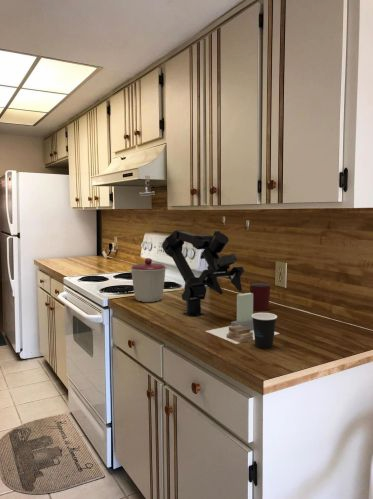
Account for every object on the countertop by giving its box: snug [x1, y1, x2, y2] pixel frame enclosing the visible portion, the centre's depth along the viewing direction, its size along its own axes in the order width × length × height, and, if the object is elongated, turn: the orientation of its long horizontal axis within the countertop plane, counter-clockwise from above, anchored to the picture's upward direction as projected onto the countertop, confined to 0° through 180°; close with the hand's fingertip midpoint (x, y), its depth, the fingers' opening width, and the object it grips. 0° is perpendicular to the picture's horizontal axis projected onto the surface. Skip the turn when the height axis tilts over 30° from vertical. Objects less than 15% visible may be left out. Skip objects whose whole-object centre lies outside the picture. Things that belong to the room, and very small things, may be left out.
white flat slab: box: [205, 320, 280, 345], centre depth 144 cm, size 17×20×4 cm
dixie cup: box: [252, 312, 278, 350], centre depth 129 cm, size 8×8×11 cm
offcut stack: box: [227, 325, 254, 344], centre depth 136 cm, size 7×6×4 cm
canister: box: [129, 257, 167, 303], centre depth 201 cm, size 18×18×21 cm
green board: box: [236, 292, 254, 324], centre depth 147 cm, size 2×6×13 cm, turn 123°
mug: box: [249, 282, 271, 312], centre depth 184 cm, size 12×9×11 cm
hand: (231, 292), depth 152 cm, fingers open, 9 cm apart
